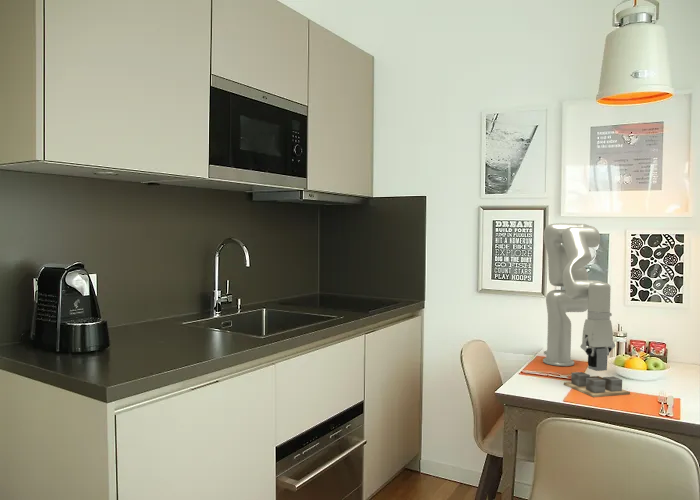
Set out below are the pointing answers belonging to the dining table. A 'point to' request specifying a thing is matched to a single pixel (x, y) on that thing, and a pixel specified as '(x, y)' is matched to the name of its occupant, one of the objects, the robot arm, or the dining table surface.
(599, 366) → the dark gray rectangular block
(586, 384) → the board
